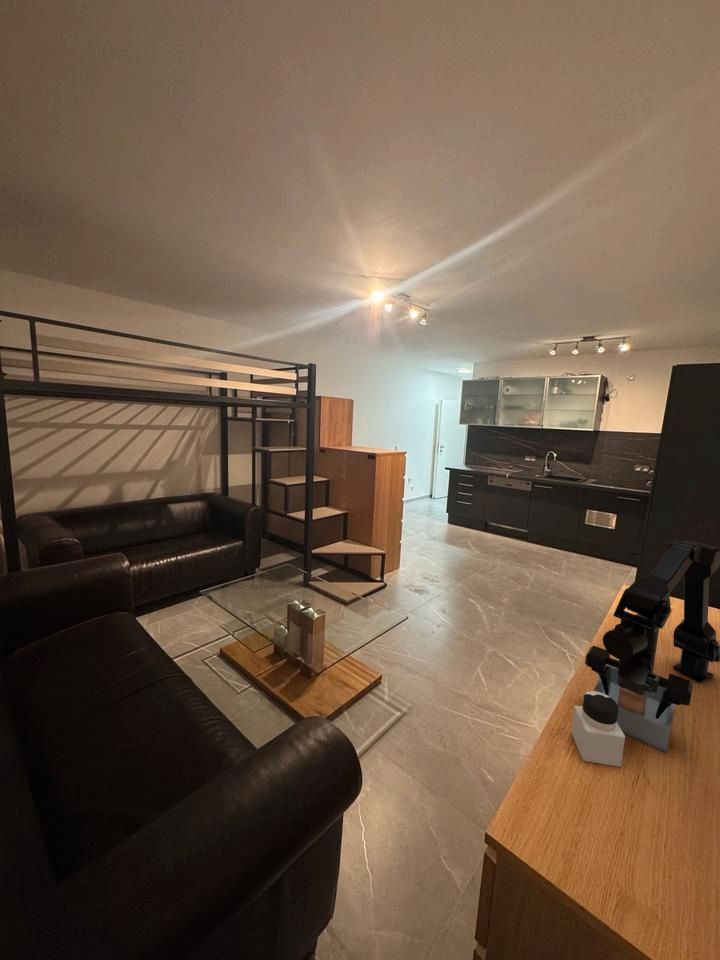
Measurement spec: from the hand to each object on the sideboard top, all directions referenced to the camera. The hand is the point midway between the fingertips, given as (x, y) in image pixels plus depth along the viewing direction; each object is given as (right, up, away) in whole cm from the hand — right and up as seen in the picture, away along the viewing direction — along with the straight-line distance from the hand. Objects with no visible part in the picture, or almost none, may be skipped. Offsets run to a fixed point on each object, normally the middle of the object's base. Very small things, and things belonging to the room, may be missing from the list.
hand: (631, 706), depth 85 cm
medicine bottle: (-12, -6, -6) cm, 15 cm away
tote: (+3, -4, +4) cm, 6 cm away
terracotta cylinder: (0, -4, +1) cm, 4 cm away
